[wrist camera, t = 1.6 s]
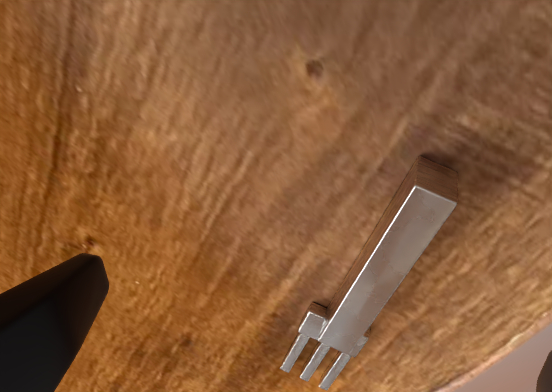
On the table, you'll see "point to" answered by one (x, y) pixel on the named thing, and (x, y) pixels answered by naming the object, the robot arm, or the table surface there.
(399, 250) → the fork
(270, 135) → the table surface
